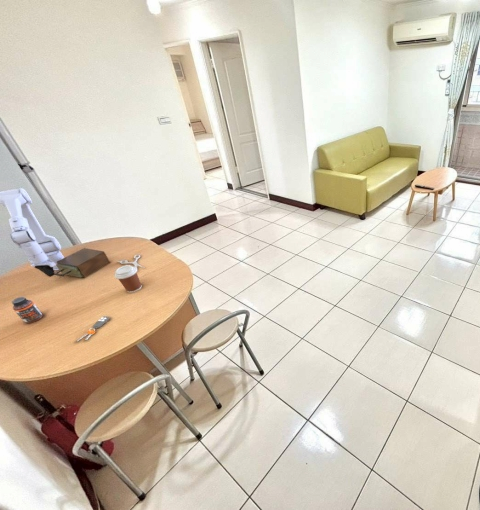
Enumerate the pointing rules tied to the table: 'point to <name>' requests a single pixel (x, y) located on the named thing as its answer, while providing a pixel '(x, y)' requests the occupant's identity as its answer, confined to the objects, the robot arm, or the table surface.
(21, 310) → the supplement bottle
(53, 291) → the table surface
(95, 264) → the cabinet
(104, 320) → the key chain
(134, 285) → the coffee cup
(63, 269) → the drawer
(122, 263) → the scissors
